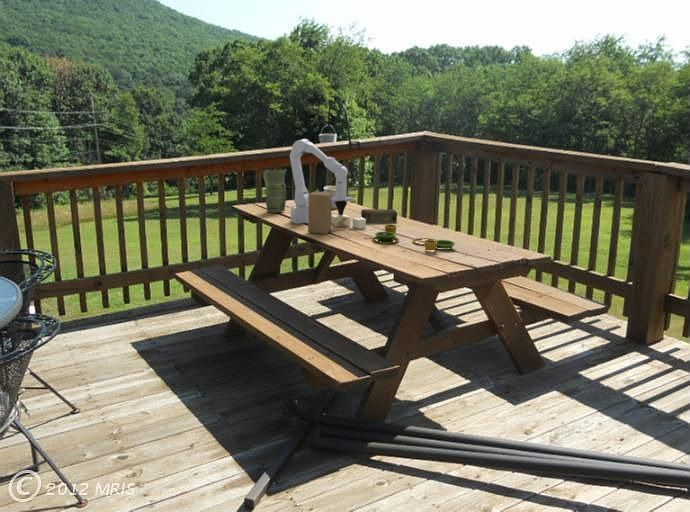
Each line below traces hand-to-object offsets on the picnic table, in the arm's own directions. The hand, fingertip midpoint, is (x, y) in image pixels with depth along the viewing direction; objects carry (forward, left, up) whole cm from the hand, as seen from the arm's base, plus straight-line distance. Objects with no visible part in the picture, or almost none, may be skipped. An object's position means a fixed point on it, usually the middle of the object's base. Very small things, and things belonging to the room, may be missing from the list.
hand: (340, 215), depth 354 cm
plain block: (0, 0, -6) cm, 6 cm away
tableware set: (+12, -50, -6) cm, 51 cm away
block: (-18, -12, -6) cm, 22 cm away
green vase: (-19, +46, -6) cm, 50 cm away
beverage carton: (+24, +1, -6) cm, 25 cm away
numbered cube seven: (+6, -10, -5) cm, 13 cm away
